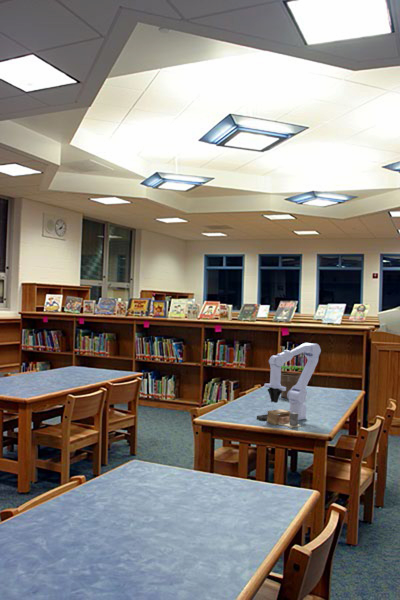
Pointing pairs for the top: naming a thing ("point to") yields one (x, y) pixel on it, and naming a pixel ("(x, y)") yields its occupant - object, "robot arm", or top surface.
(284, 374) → the plant pot
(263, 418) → the tray
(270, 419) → the tunnel
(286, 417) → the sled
